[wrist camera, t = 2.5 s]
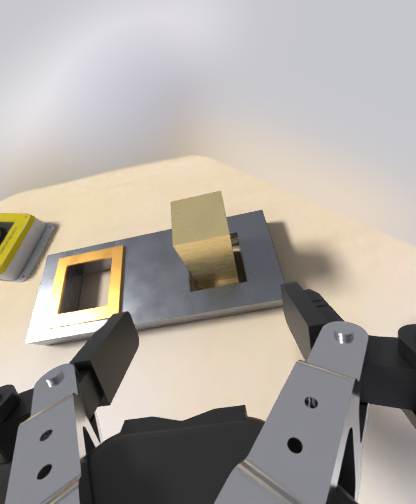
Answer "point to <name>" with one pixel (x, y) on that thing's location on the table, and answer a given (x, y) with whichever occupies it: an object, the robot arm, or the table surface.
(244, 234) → the peg board
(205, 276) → the brass peg
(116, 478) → the robot arm
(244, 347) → the table surface
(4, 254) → the emergency button
